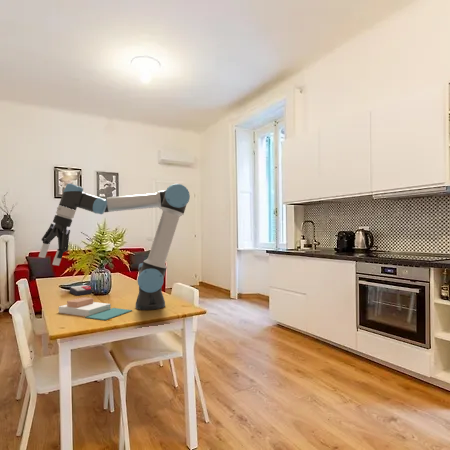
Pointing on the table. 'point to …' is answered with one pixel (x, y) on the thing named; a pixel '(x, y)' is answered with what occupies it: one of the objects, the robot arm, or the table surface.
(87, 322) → the table surface
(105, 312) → the mat
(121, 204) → the robot arm
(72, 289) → the calculator
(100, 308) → the panel
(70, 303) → the tile
